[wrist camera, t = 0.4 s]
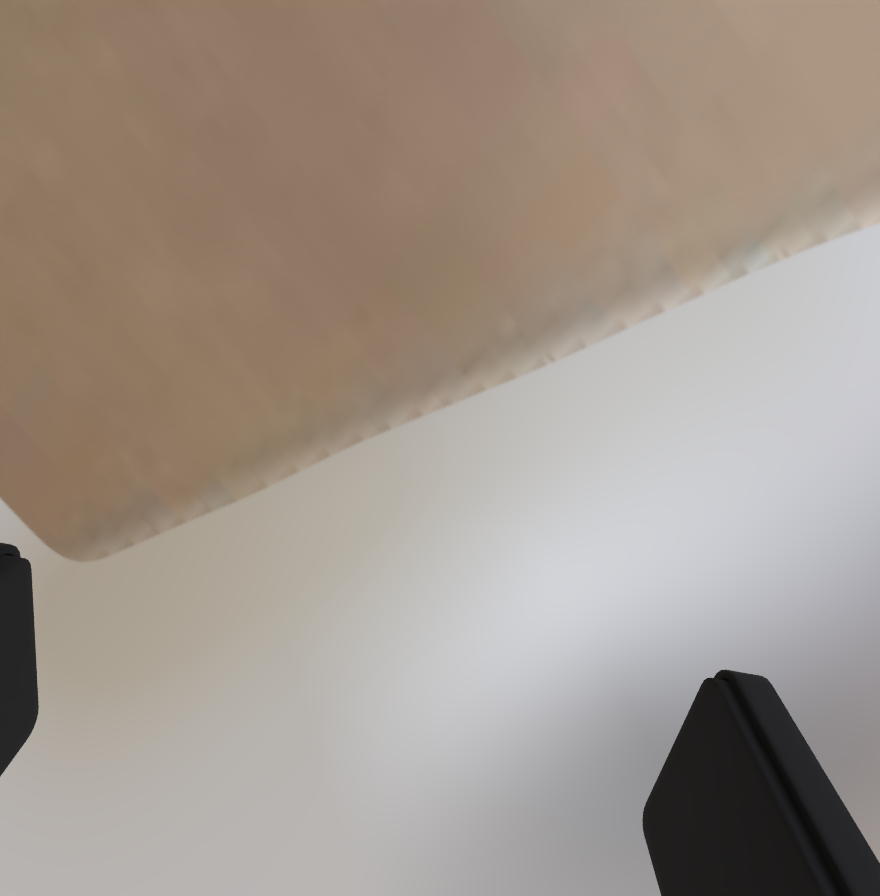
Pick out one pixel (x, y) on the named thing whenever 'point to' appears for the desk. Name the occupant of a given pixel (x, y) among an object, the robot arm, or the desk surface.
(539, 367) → the desk surface
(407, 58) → the desk surface
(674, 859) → the robot arm
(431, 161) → the desk surface
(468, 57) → the desk surface
